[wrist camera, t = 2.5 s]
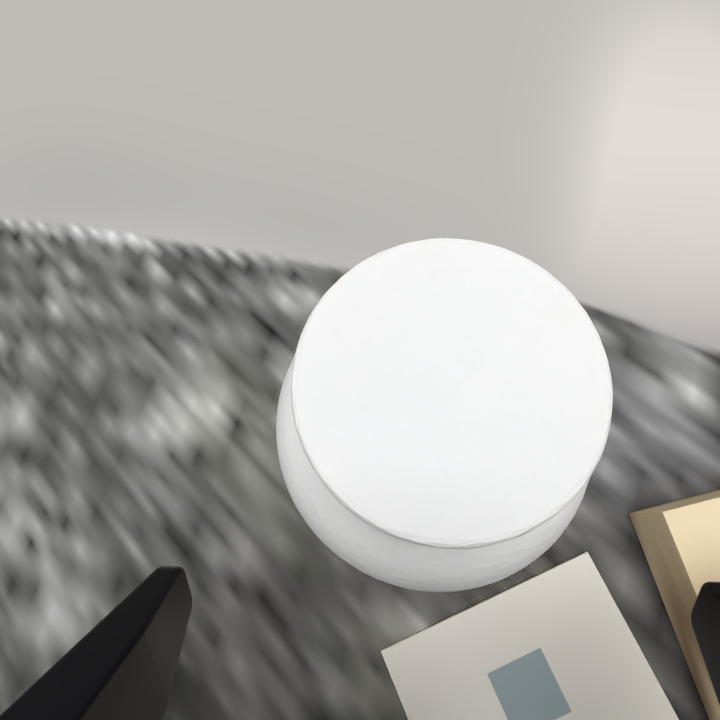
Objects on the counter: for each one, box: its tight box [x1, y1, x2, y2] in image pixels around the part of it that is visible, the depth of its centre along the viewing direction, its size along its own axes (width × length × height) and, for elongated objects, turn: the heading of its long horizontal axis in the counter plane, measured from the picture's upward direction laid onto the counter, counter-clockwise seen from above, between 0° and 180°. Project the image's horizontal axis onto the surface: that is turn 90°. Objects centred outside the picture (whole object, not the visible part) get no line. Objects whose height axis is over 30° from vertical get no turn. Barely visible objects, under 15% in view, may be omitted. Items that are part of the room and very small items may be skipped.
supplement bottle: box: [276, 238, 613, 592], centre depth 14 cm, size 7×7×13 cm
